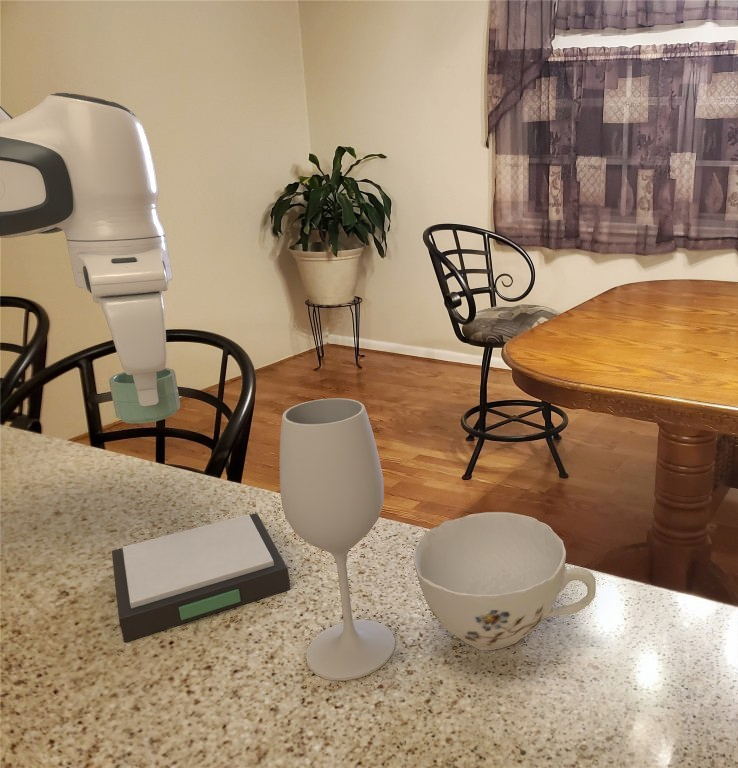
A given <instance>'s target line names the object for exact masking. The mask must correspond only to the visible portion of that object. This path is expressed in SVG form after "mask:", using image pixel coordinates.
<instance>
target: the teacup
mask: <svg viewBox="0 0 738 768" xmlns="http://www.w3.org/2000/svg"><path fill="white" fill-rule="evenodd" d="M566 559H567V551H566V548H565V545H564V540H563V539H562V538H561V537H559V535H558V534H557V533H556V532H555V531H554V530H553V529H552V526H550V525H548V524H547V523H545V522H542V521H539V520H538V519H537V518H535V517H532V516H527V515H524V514H518V513H514V512H507V511H506V512H505V511H486V512H479V513H472V514H468V515H465V516H463V517H462V516H461V517H458V518H455V519H449V520H445V521H443V522H441V523H440V524H439V525H438V526H435V527H432V528H431V529H429V530H428V531H426V532H425V533H424V534H423V536H421V537H420V538H419V540H418V543H417V545H416V547H415V549H414V553H413V565H414V569H415V572H416V576H417V580H418V583H419V586H420V590H421V592H422V595H423V597H424V599H425V602H426V603H427V605H428V607H429V609H430V611H431V613H432V614H433V615H434V617H435V618H436V619H437V621H438V622H439V623H440V624H441V625H442V626H443V627H444V628H445V629H446V630H447V631H449V633H451V634H452V635H453V636H455V637H456V638H458V639H460V640H462V642H463V643H465V644H467V645H470V646H471V647H473V648H474V649H476V650H480V651H495V650H499V649H503V648H507V647H510V646H513V645H515V644H517V643H518V642H519V641H521V639H523V638H525V637H526V636H528V635H530V634H531V633H532V632H534V630H535V629H536V628H537V627H539V626H540V624H542V623H543V621H544V620H545V619H546V618H550V617H560V616H567V615H568V616H570V615H573V614H577V613H579V612H581V611H582V610H583V609H586V607H588V606H589V605H590V604H591V603H592V601H593V600H594V599H595V598H596V590H597V589H596V588H597V587H596V586H597V585H596V577H595V576H594V574H593V573H592V571H590V570H589V569H587V568H584V567H570V568H566ZM573 581H579V582H582V583H583V584H584V585H585V587H586V591H587V593H586V595H585V596H583V597H582V598H580V600H578V601H575V602H572V603H570V604H565V605H562V606H559V607H553V606H554V604H555V603H556V600H557V598H558V596H559V594H561V592H563V591H564V590H565V589H566V587H567V586H568V585H569V584H570V583H571V582H573Z"/></svg>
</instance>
